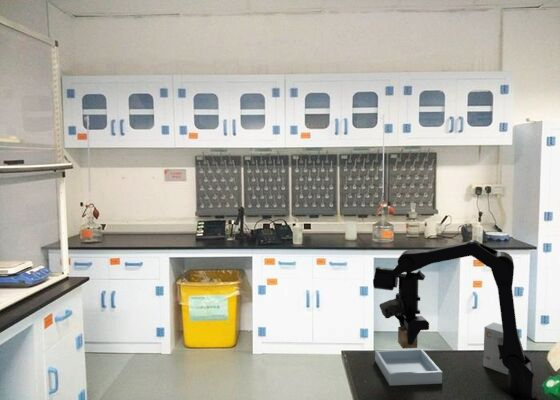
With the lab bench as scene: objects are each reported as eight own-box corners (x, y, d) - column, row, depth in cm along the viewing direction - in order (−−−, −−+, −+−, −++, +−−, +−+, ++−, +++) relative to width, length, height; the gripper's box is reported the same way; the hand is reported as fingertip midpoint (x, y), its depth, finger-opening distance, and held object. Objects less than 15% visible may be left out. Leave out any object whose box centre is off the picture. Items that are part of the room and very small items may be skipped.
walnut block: (417, 347, 134) (417, 331, 134) (402, 348, 134) (403, 332, 133) (412, 341, 139) (412, 326, 138) (398, 342, 138) (398, 326, 138)
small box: (517, 369, 138) (519, 329, 136) (508, 375, 134) (510, 334, 132) (491, 360, 144) (493, 321, 143) (482, 366, 140) (483, 326, 139)
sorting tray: (441, 383, 130) (442, 372, 129) (389, 385, 129) (389, 374, 129) (421, 359, 145) (422, 348, 145) (375, 360, 144) (375, 350, 144)
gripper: (374, 284, 143) (373, 330, 145) (391, 303, 125) (391, 356, 126) (407, 283, 144) (406, 329, 146) (430, 301, 125) (429, 354, 127)
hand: (407, 341), depth 136 cm, fingers closed on walnut block, 4 cm apart
